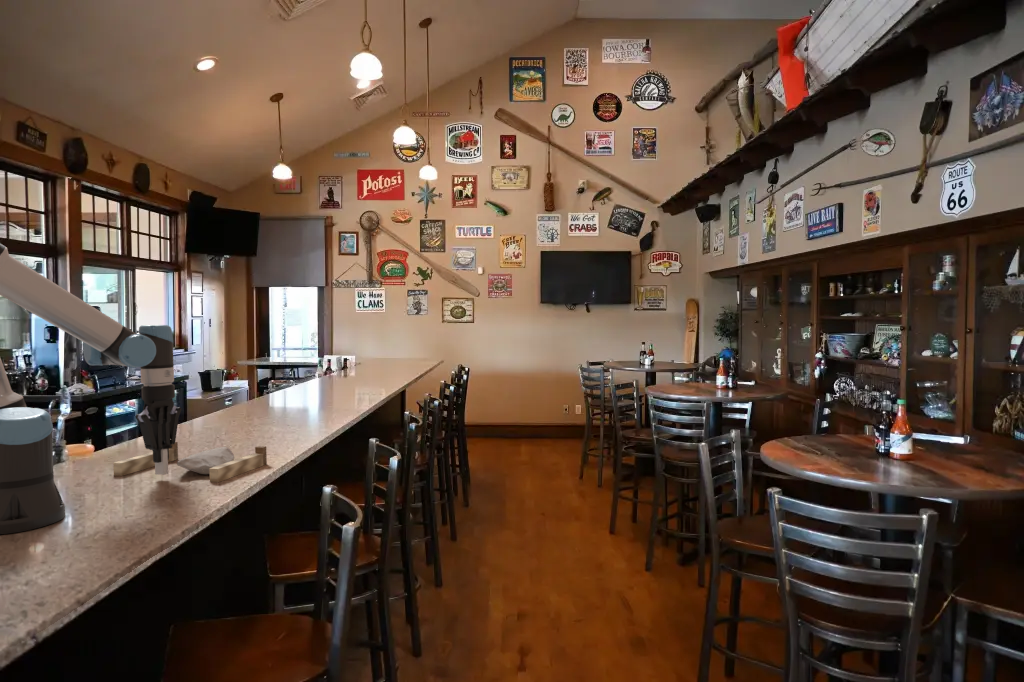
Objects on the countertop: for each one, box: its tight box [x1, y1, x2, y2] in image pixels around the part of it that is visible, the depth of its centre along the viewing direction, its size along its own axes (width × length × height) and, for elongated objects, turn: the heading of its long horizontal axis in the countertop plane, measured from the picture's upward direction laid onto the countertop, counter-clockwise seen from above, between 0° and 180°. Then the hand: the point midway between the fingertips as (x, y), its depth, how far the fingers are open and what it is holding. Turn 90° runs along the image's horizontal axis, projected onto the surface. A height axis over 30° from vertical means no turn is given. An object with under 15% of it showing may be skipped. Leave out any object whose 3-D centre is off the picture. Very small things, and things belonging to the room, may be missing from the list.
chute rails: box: [112, 441, 268, 483], centre depth 173 cm, size 20×33×5 cm, turn 76°
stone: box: [177, 446, 235, 475], centre depth 176 cm, size 12×5×25 cm
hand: (161, 473), depth 163 cm, fingers closed
